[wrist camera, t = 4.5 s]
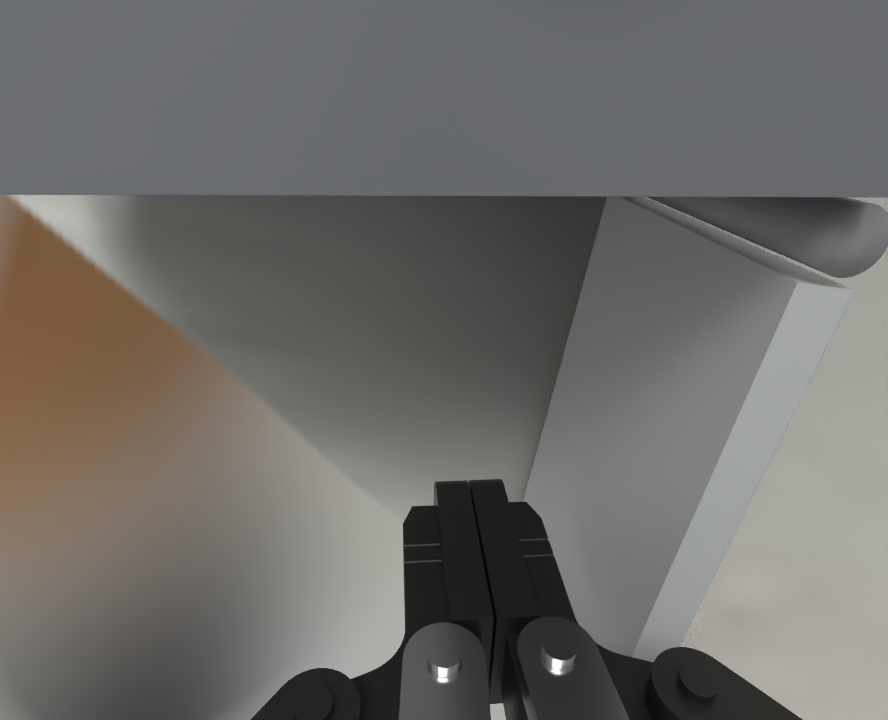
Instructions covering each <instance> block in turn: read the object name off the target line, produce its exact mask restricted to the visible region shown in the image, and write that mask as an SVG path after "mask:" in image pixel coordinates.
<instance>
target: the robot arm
mask: <svg viewBox="0 0 888 720" xmlns="http://www.w3.org/2000/svg"><path fill="white" fill-rule="evenodd" d="M403 551H404V599H405V635H404V639H403V641H402V644H401V646H400V648H399V649H398V651H397V652H396V654H395V655H394V656H393V657H392V658H391V659H390V660H389V661H387V662H386V663H385V664H383V665H382V666H380V667H379V668H377V669H375V670H373V671H370V672H368V673H366V674H363V675H360V676H358V677H355V678H353V679H349V678H348V677H347V676H346V675H344V674H343V673H341V672H339V671H336V670H333V669H328V668H317V669H311V670H308V671H305V672H302V673H300V674H299V675H296V676H295V677H293V678H292V679H290V680H289V681H288V682H287V683H286V684H284V686H282V687H281V688H280V689H279V691H278V692H277V693H276V694H275V695H274V696H273V697H272V698H271V699H270V700H269V701H268V702H267V703H266V704H265V705H264V706H263V707H262V708H261V709H260V711H259V712H258V713H257V714H256V715H255V716H254V717H253V718H252V719H251V720H491V716H490V704H496V703H503V704H504V709H505V715H506V720H802V719H801V718H799V717H798V716H796V715H795V714H794V713H792V712H791V711H789V710H788V709H786V708H785V707H783V706H782V705H781V704H779V703H778V702H776V701H775V700H773V699H772V698H771V697H769V696H768V695H766V694H765V693H763V692H762V691H760V690H759V689H758V688H756V687H755V686H753V685H752V684H750V683H749V682H747V681H746V680H745V679H743V678H742V677H740V676H739V675H737V674H736V673H735V672H733V671H732V670H730V669H729V668H727V667H726V666H724V665H723V664H722V663H720V662H719V661H717V660H716V659H714V658H713V657H711V656H709V655H707V654H705V653H703V652H701V651H698V650H695V649H692V648H686V647H674V648H670V649H667V650H665V651H663V652H661V653H660V654H659V655H658V656H657V657H656V659H655V660H654V662H650V661H645V660H641V659H637V658H633V657H629V656H625V655H621V654H618V653H615V652H612V651H610V650H608V649H605V648H604V647H602V646H600V645H599V644H597V643H596V642H595V641H594V640H593V638H592V637H591V636H590V634H589V633H588V632H587V631H586V630H585V629H583V628H582V627H581V626H580V625H579V624H578V622H577V620H576V618H575V615H574V612H573V609H572V606H571V603H570V601H569V598H568V595H567V592H566V589H565V586H564V583H563V580H562V577H561V574H560V571H559V568H558V565H557V562H556V559H555V557H554V556H553V550H552V547H551V544H550V542H549V541H548V536H547V533H546V530H545V527H544V524H543V521H542V518H541V517H540V516H539V515H538V514H537V512H536V511H535V510H534V509H533V508H532V507H531V506H530V505H529V504H528V503H527V502H508V498H507V495H506V491H505V487H504V484H503V481H502V480H501V479H490V480H469V482H468V481H440V482H435V485H434V506H412V508H411V510H410V512H409V514H408V516H407V517H406V519H405V521H404V523H403Z"/></svg>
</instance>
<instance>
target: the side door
mask: <svg viewBox="0 0 888 720" xmlns="http://www.w3.org/2000/svg"><path fill="white" fill-rule="evenodd" d="M649 198H651V199H653V200H656V201H658V202H660V203H663V204H665V205H667V206H670V207H672V208H674V209H677V210H679V211H681V212H684V213H686V214H688V215H691V216H693V217H695V218H698V219H700V220H702V221H705V222H707V223H709V224H712V225H714V226H716V227H719V228H721V229H723V230H726V231H728V232H730V233H732V234H735V235H737V236H739V237H742V238H744V239H746V240H749V241H751V242H753V243H756V244H758V245H760V246H763V247H765V248H767V249H770V250H772V251H774V252H777V253H779V254H781V255H784V256H786V257H788V258H791V259H793V260H795V261H798V262H800V263H802V264H805V265H807V266H809V267H812V268H814V269H816V270H819V271H821V272H823V273H826V274H828V275H830V276H833V277H837V278H846V277H851V276H855V275H857V274H860V273H862V272H864V271H865V270H867V269H868V268H870V267H871V266H872V265H873V264H874V263H875V262H876V261H878V259H879V258H880V257H881V256H882V254H883V253H884V252H885V250H886V248H887V246H888V213H887V212H886V211H885V210H884V209H883V208H882V207H880V206H878V205H876V204H872V203H867V202H863V201H859V200H855V199H851V198H847V197H649ZM853 292H854V290H852V289H850V288H847V287H845V286H843V285H840V284H838V283H836V282H834V281H831V280H829V279H827V278H825V277H822V276H820V275H818V274H815V273H813V272H811V271H809V270H806V269H804V268H802V267H800V266H797V265H795V264H793V263H790V262H788V261H786V260H784V259H781V258H779V257H777V256H775V255H772V254H770V253H768V252H765V251H763V250H761V249H759V248H756V247H754V246H752V245H750V244H747V243H745V242H743V241H740V240H738V239H736V238H734V237H731V236H729V235H727V234H725V233H722V232H720V231H718V230H715V229H713V228H711V227H709V226H706V225H704V224H702V223H700V222H697V221H695V220H693V219H690V218H688V217H686V216H684V215H681V214H679V213H677V212H675V211H672V210H670V209H668V208H665V207H663V206H661V205H659V204H656V203H654V202H652V201H650V200H647V199H645V198H643V197H634V196H607V199H606V202H605V206H604V210H603V213H602V217H601V220H600V224H599V228H598V231H597V235H596V239H595V242H594V246H593V249H592V253H591V257H590V260H589V264H588V268H587V271H586V275H585V278H584V282H583V286H582V289H581V293H580V296H579V300H578V304H577V307H576V311H575V315H574V318H573V322H572V325H571V329H570V333H569V336H568V340H567V344H566V347H565V351H564V354H563V358H562V362H561V365H560V369H559V373H558V376H557V380H556V383H555V387H554V391H553V394H552V398H551V401H550V405H549V409H548V412H547V416H546V420H545V423H544V427H543V430H542V434H541V438H540V441H539V445H538V449H537V452H536V456H535V459H534V463H533V467H532V470H531V474H530V477H529V481H528V485H527V488H526V492H525V496H524V499H523V502H527V503H528V504H529V505H530V506H531V507H532V508H533V509H534V510H535V511H536V512H537V514H538V515H539V516H540V517H541V518H542V521H543V524H544V527H545V530H546V533H547V536H548V541H549V542H550V544H551V547H552V550H553V556H554V557H555V559H556V562H557V565H558V568H559V571H560V574H561V577H562V580H563V583H564V586H565V589H566V592H567V595H568V598H569V601H570V603H571V606H572V609H573V612H574V615H575V618H576V620H577V622H578V624H579V625H580V626H581V627H582V628H583V629H585V630H586V631H587V632H588V633H589V634H590V636H591V637H592V638H593V640H594V641H595V642H596V643H597V644H599V645H600V646H602V647H604V648H605V649H608V650H610V651H612V652H615V653H618V654H621V655H625V656H629V657H633V658H637V659H641V660H645V661H650V662H654V660H655V659H656V657H657V656H658V655H659V654H660V653H661V652H663V651H665V650H667V649H670V648H674V647H679V646H680V644H681V642H682V640H683V638H684V636H685V634H686V632H687V630H688V628H689V626H690V624H691V622H692V620H693V618H694V615H695V613H696V611H697V609H698V607H699V605H700V603H701V601H702V599H703V597H704V595H705V593H706V591H707V589H708V587H709V585H710V583H711V581H712V579H713V577H714V575H715V573H716V571H717V569H718V567H719V565H720V563H721V561H722V559H723V557H724V555H725V552H726V550H727V548H728V546H729V544H730V542H731V540H732V538H733V536H734V534H735V532H736V530H737V528H738V526H739V524H740V522H741V520H742V518H743V516H744V514H745V512H746V510H747V508H748V506H749V504H750V502H751V500H752V498H753V496H754V494H755V491H756V489H757V487H758V485H759V483H760V481H761V479H762V477H763V475H764V473H765V471H766V469H767V467H768V465H769V463H770V461H771V459H772V457H773V455H774V453H775V451H776V449H777V447H778V445H779V443H780V441H781V439H782V437H783V435H784V433H785V431H786V428H787V426H788V424H789V422H790V420H791V418H792V416H793V414H794V412H795V410H796V408H797V406H798V404H799V402H800V400H801V398H802V396H803V394H804V392H805V390H806V388H807V386H808V384H809V382H810V380H811V378H812V376H813V374H814V372H815V370H816V367H817V365H818V363H819V361H820V359H821V357H822V355H823V353H824V351H825V349H826V347H827V345H828V343H829V341H830V339H831V337H832V335H833V333H834V331H835V329H836V327H837V325H838V323H839V321H840V319H841V317H842V315H843V313H844V311H845V309H846V307H847V304H848V302H849V300H850V298H851V296H852V294H853Z"/></svg>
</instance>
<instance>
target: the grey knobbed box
mask: <svg viewBox="0 0 888 720" xmlns="http://www.w3.org/2000/svg"><path fill="white" fill-rule="evenodd" d="M0 195H317V196H634V197H888V0H0Z"/></svg>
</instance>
